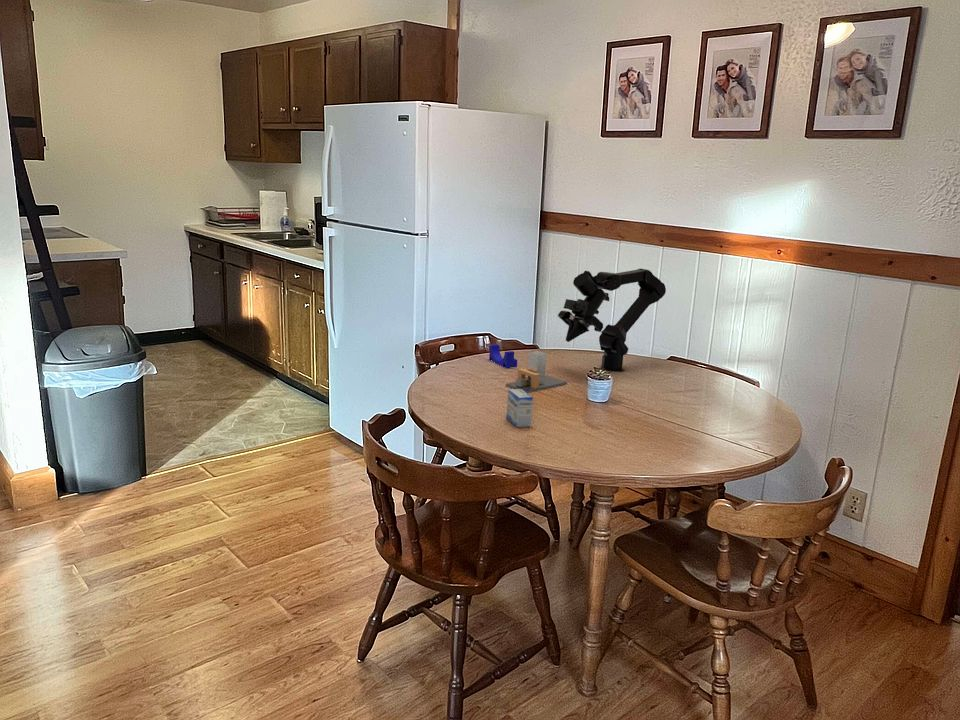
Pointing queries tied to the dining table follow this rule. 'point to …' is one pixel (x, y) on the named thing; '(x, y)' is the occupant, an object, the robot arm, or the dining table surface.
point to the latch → (534, 368)
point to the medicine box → (519, 408)
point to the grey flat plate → (548, 383)
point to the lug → (533, 375)
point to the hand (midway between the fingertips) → (567, 341)
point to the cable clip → (496, 357)
